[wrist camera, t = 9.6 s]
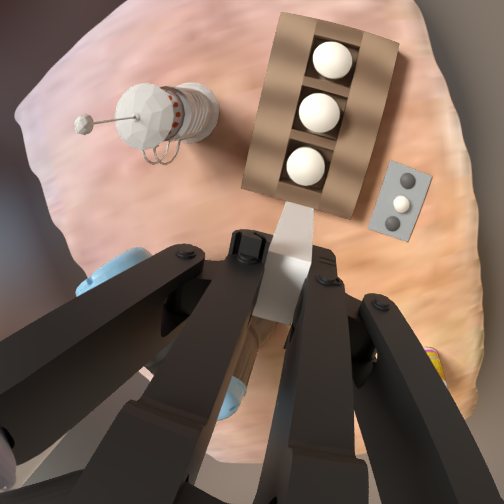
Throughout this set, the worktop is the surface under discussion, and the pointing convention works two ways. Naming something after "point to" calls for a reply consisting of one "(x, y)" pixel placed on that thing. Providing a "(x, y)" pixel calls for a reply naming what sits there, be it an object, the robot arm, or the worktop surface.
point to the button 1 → (306, 165)
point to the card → (399, 201)
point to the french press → (161, 116)
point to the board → (297, 135)
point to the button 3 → (332, 60)
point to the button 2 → (319, 112)
